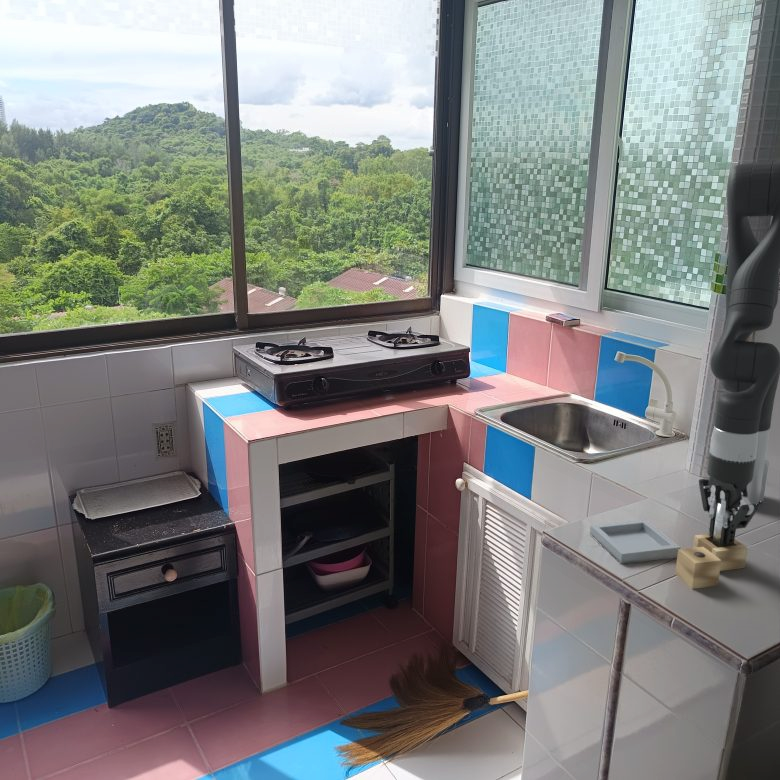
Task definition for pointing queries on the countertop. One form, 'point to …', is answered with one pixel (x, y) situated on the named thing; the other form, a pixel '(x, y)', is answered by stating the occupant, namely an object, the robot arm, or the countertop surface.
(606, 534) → the tray
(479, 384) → the countertop surface
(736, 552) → the oak block
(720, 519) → the cylinder
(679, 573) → the block
